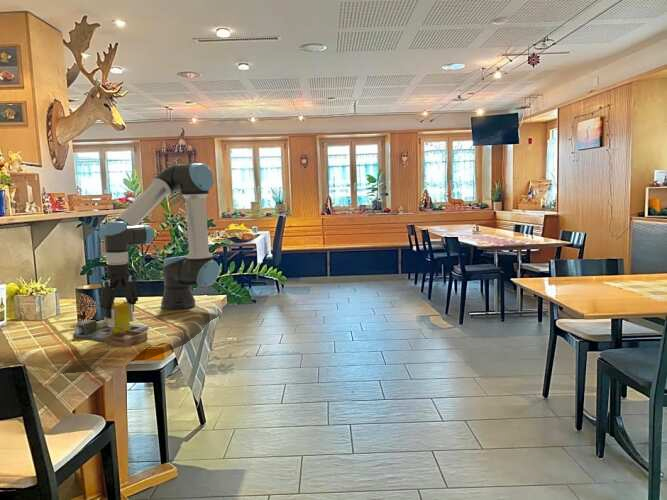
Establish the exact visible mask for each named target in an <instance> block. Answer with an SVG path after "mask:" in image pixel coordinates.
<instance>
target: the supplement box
mask: <svg viewBox="0 0 667 500" xmlns="http://www.w3.org/2000/svg"><path fill="white" fill-rule="evenodd" d="M128 304H129V303H128V302H127V301H120V302H119V301H118V302H114V303H113V306H112V309H114V320H115V327H113V331H112V333H118V332H121V331H124V330H131V329H130V324H131V323H130V322H131V321H129V305H128Z"/></svg>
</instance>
